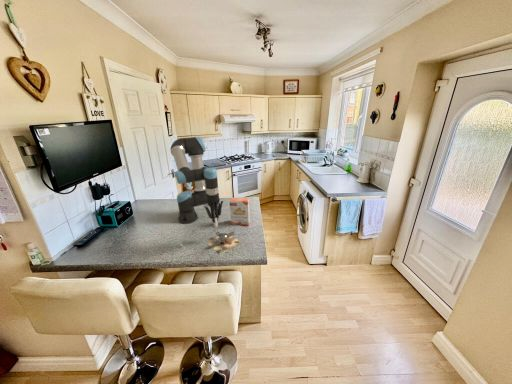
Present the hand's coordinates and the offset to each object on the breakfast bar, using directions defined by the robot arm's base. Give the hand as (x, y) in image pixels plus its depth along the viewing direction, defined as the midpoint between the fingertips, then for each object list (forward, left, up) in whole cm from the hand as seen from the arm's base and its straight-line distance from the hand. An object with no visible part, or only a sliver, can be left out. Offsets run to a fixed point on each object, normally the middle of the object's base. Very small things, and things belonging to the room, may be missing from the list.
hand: (215, 225), depth 132 cm
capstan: (+6, +1, -11) cm, 12 cm away
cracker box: (-7, +25, -12) cm, 28 cm away
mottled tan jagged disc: (+6, +1, -12) cm, 13 cm away
